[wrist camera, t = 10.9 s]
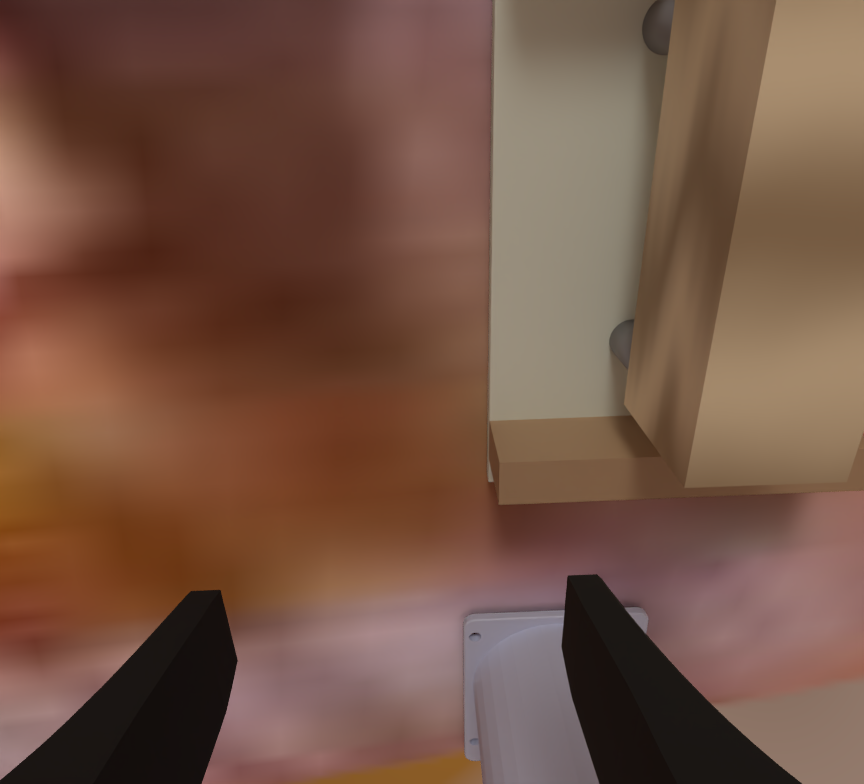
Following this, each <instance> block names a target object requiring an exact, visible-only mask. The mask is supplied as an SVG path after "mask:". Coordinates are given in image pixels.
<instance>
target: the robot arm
mask: <svg viewBox="0 0 864 784" xmlns="http://www.w3.org/2000/svg"><path fill="white" fill-rule="evenodd" d="M647 626H648V616H647V614H646V612H645V610H644V609H642V608H639V607H626V608H624V607H623V606H622V604H621V603H620V602H619V601H618V599H617V598H616V597H615V595H614V594H613V593H612V592H611V590H610V589H609V588H608V586H607V585H606V584H605V582H604V581H603V580H602V579H601V578H600V577H599V576H598V575H597V574H596V575H572V576H568V578H567V589H566V600H565V610H554V611H530V612H506V613H482V614H471V615H469V616H467V617H466V618H465V619H464V621H463V674H464V751H465V757H466V758H467V759H469V760H471V761H481V769H482V778H483V784H802V783H800V782H799V781H798V780H797V779H795V778H794V777H793V776H792V775H790V774H789V773H788V772H787V771H785V770H784V769H783V768H782V767H780V766H779V765H778V764H777V763H776V762H774V761H773V760H772V759H771V758H770V757H769V756H767V755H766V754H765V753H764V752H763V751H761V750H760V749H759V748H758V747H757V746H756V745H754V744H753V743H752V742H751V741H750V740H749V739H748V738H747V737H746V736H744V735H743V734H742V733H741V732H740V731H739V730H738V729H737V728H736V727H735V726H734V725H732V724H731V723H730V722H729V721H728V720H727V719H726V718H725V717H724V716H723V715H722V714H721V713H720V712H719V711H718V710H717V709H716V708H715V707H714V706H713V705H712V704H711V703H710V702H708V701H707V700H706V699H705V698H704V696H703V695H702V694H701V693H700V692H699V691H698V690H697V689H696V688H695V687H694V686H693V685H692V684H691V683H690V682H689V681H688V680H687V679H686V678H685V677H684V676H683V675H682V674H681V673H680V672H679V671H678V669H677V668H676V667H675V666H674V665H673V664H672V663H671V662H670V661H669V660H668V658H667V657H666V656H665V655H664V654H663V653H662V652H661V651H660V649H659V648H658V647H657V646H656V645H655V644H654V643H653V642H652V640H651V639H650V638H649V637H648V636H647V635H646V632H647ZM472 633H478V634H472ZM237 661H238V660H237V656H236V652H235V648H234V644H233V640H232V636H231V632H230V628H229V623H228V619H227V615H226V611H225V607H224V603H223V599H222V595H221V591H220V590H208V591H191V592H190V593H189V594H188V595H187V596H186V597H185V598H184V599H183V600H182V601H181V602H180V603H179V604H178V605H177V607H176V608H175V609H174V610H173V611H172V612H171V613H170V614H169V615H168V616H167V618H166V619H165V620H164V621H163V622H162V623H161V624H160V625H159V626H158V628H157V629H156V630H155V631H154V632H153V633H152V634H151V635H150V636H149V637H148V639H147V640H146V641H145V642H144V643H143V644H142V645H141V646H140V647H139V648H138V650H137V651H136V652H135V653H134V654H133V655H132V656H131V657H130V658H129V659H128V660H127V661H126V662H125V663H124V664H123V665H122V666H121V668H120V669H119V670H118V671H117V672H116V673H115V674H114V675H113V676H112V677H111V678H110V679H109V680H108V681H107V682H106V683H105V684H104V685H103V686H102V687H101V688H100V689H99V690H98V691H97V692H96V693H95V694H94V695H93V696H92V697H91V698H90V699H89V700H88V701H87V702H86V703H85V704H84V705H83V706H82V707H81V708H80V709H79V710H78V711H77V712H76V713H75V714H74V715H73V716H72V717H71V718H70V719H69V720H68V721H67V722H66V723H65V724H64V725H63V726H62V727H60V728H59V729H58V730H57V731H56V732H55V733H54V734H53V735H52V736H51V737H50V738H49V739H47V740H46V741H45V742H44V743H43V744H42V745H41V746H40V747H39V748H37V749H36V750H35V751H34V752H33V753H32V754H31V755H29V756H28V757H27V758H26V759H25V760H24V761H22V762H21V763H20V764H19V765H18V766H17V767H15V768H14V769H13V770H12V771H11V772H10V773H8V774H7V775H6V776H5V777H4V778H2V779H1V780H0V784H202V781H203V778H204V775H205V772H206V769H207V766H208V763H209V761H210V758H211V755H212V752H213V749H214V746H215V743H216V740H217V737H218V734H219V732H220V729H221V726H222V723H223V720H224V717H225V714H226V710H227V706H228V702H229V697H230V693H231V689H232V684H233V680H234V675H235V670H236V665H237Z"/></svg>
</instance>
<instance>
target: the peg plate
mask: <svg viewBox="0 0 864 784" xmlns="http://www.w3.org/2000/svg"><path fill="white" fill-rule="evenodd" d="M674 4H675V0H492V71H491V159H490V247H489V335H488V423H487V476H488V481H489V482H494V485H495V490H496V495H497V499H498V504H499V505H511V504H536V503H561V502H586V501H611V500H636V499H661V498H686V497H711V496H736V495H761V494H786V493H811V492H836V491H861V490H864V436H862V438H861V441H860V444H859V447H858V450H857V453H856V456H855V459H854V462H853V465H852V468H851V471H850V474H849V477H848V480H847V482H837V483H810V484H782V485H755V486H728V487H700V488H684V487H683V485H682V484H681V483H680V481H679V480H678V479H677V477H676V476H675V474H674V473H673V472H672V470H671V469H670V468H669V466H668V465H667V463H666V462H665V461H664V459H663V458H662V456H661V455H660V454H659V452H658V451H657V450H656V448H655V447H654V445H653V444H652V443H651V441H650V440H649V438H648V437H647V436H646V434H645V433H644V432H643V430H642V429H641V427H640V426H639V425H638V423H637V422H636V420H635V419H634V418H633V416H632V415H631V414H630V412H629V411H628V409H627V408H626V407H625V405H624V399H625V391H626V383H627V375H628V367H629V359H630V351H631V343H632V336H633V328H634V320H635V312H636V304H637V296H638V288H639V280H640V272H641V265H642V257H643V249H644V241H645V233H646V225H647V217H648V209H649V201H650V193H651V186H652V178H653V170H654V162H655V154H656V146H657V138H658V130H659V122H660V114H661V107H662V99H663V91H664V83H665V75H666V67H667V59H668V51H669V43H670V35H671V28H672V20H673V12H674Z"/></svg>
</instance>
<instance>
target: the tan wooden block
mask: <svg viewBox="0 0 864 784" xmlns="http://www.w3.org/2000/svg"><path fill="white" fill-rule="evenodd" d="M624 405H625V407H626V408H627V409H628V411H629V412H630V414H631V415H632V416H633V418H634V419H635V420H636V422H637V423H638V425H639V426H640V427H641V429H642V430H643V432H644V433H645V434H646V436H647V437H648V438H649V440H650V441H651V443H652V444H653V445H654V447H655V448H656V450H657V451H658V452H659V454H660V455H661V456H662V458H663V459H664V461H665V462H666V463H667V465H668V466H669V468H670V469H671V470H672V472H673V473H674V474H675V476H676V477H677V479H678V480H679V481H680V483H681V484H682V485H683V487H684V488H700V487H728V486H755V485H782V484H810V483H837V482H847V480H848V477H849V474H850V471H851V468H852V465H853V462H854V459H855V456H856V453H857V450H858V447H859V444H860V441H861V438H862V435H863V432H864V0H675V4H674V12H673V20H672V28H671V35H670V43H669V51H668V59H667V67H666V75H665V83H664V91H663V99H662V107H661V114H660V122H659V130H658V138H657V146H656V154H655V162H654V170H653V178H652V186H651V193H650V201H649V209H648V217H647V225H646V233H645V241H644V249H643V257H642V265H641V272H640V280H639V288H638V296H637V304H636V312H635V320H634V328H633V336H632V343H631V351H630V359H629V367H628V375H627V383H626V391H625V399H624Z"/></svg>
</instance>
